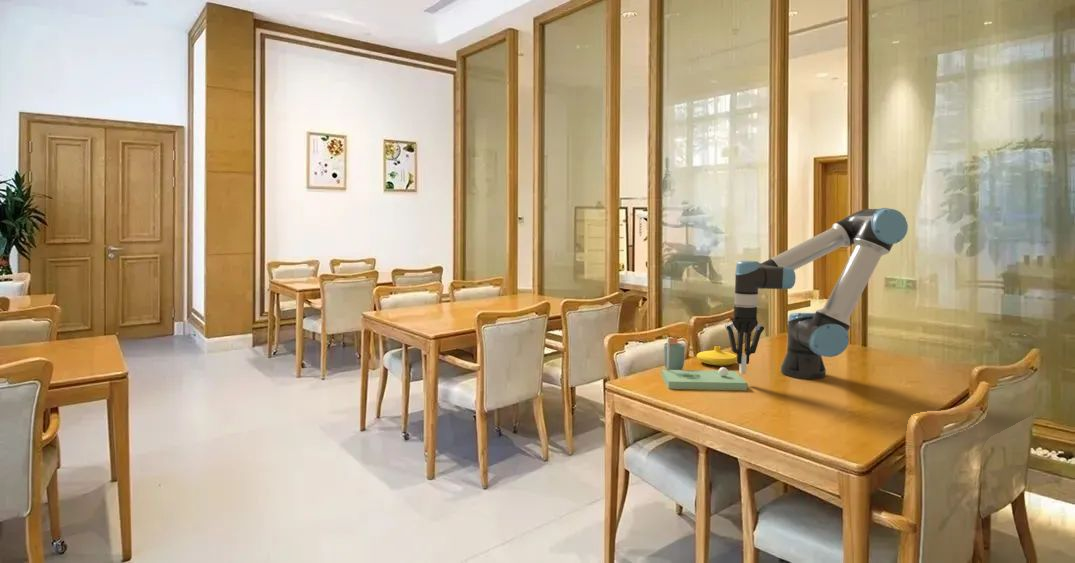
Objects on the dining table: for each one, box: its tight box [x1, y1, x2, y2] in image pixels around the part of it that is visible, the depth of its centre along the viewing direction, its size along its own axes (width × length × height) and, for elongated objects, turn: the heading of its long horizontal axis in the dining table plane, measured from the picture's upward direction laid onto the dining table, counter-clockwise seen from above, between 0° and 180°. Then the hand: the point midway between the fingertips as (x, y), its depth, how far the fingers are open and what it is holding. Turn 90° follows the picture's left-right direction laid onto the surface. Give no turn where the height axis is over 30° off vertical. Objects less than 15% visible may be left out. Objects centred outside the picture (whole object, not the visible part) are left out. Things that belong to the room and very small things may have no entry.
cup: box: [663, 342, 686, 370], centre depth 227 cm, size 8×8×10 cm
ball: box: [717, 366, 729, 377], centre depth 209 cm, size 3×3×3 cm
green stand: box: [661, 337, 748, 391], centre depth 209 cm, size 26×16×14 cm, turn 87°
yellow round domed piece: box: [696, 345, 737, 367], centre depth 238 cm, size 16×16×7 cm
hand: (742, 372), depth 209 cm, fingers closed
